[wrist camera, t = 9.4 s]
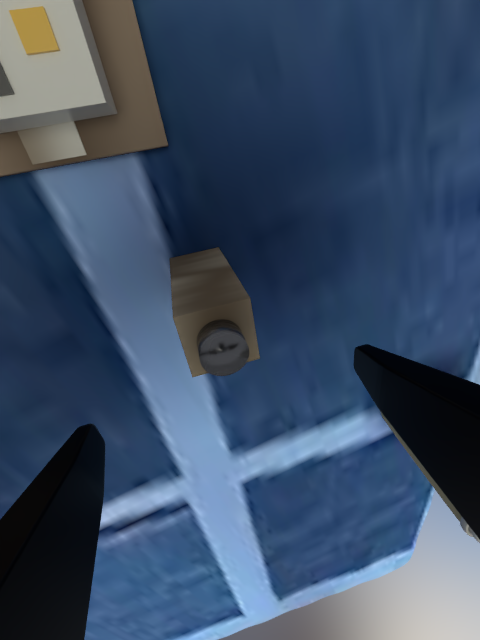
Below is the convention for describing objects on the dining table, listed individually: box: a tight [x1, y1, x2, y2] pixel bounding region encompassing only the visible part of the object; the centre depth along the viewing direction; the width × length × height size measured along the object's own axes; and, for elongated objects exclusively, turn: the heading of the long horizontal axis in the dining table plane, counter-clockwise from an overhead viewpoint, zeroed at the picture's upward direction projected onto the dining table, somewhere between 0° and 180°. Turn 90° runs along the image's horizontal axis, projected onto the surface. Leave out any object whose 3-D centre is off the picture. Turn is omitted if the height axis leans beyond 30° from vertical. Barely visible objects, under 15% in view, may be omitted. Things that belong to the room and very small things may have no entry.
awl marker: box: [170, 247, 260, 377], centre depth 15 cm, size 3×3×9 cm
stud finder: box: [0, 0, 117, 133], centre depth 10 cm, size 6×4×3 cm, turn 99°
